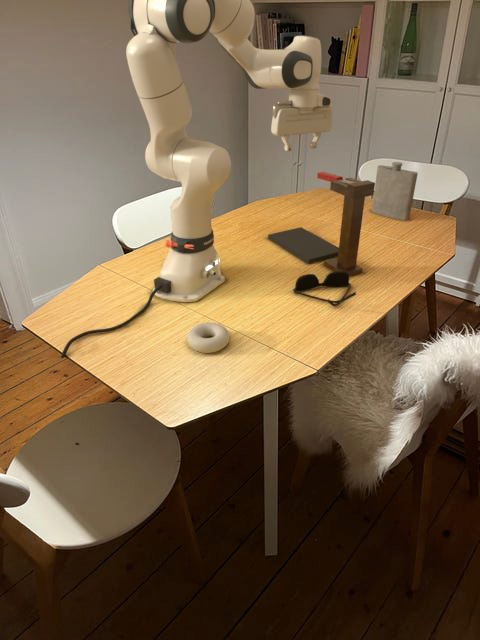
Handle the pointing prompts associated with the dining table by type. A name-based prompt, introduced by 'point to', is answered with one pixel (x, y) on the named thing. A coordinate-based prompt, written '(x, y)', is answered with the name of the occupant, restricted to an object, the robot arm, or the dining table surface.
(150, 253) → the dining table surface
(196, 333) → the donut
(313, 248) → the cutting board
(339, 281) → the sunglasses
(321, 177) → the knife
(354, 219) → the wooden post stand
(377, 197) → the hip flask
